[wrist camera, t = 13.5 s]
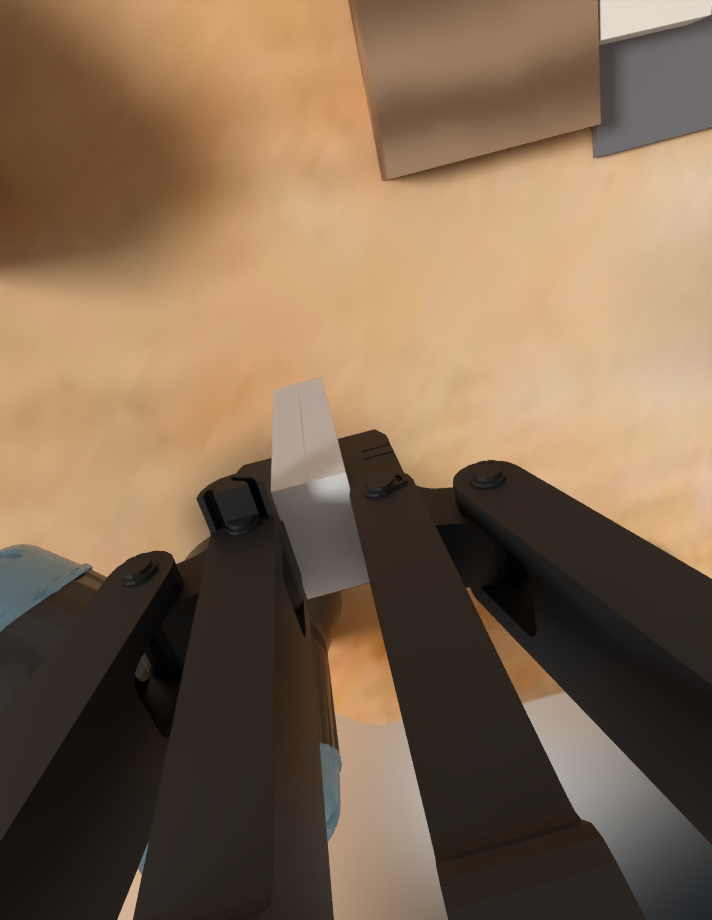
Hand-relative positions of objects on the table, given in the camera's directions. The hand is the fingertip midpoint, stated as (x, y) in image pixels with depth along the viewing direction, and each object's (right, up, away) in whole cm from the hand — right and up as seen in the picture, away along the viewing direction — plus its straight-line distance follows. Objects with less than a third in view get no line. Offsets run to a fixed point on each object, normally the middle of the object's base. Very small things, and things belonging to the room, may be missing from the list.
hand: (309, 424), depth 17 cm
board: (+8, +28, +17) cm, 33 cm away
